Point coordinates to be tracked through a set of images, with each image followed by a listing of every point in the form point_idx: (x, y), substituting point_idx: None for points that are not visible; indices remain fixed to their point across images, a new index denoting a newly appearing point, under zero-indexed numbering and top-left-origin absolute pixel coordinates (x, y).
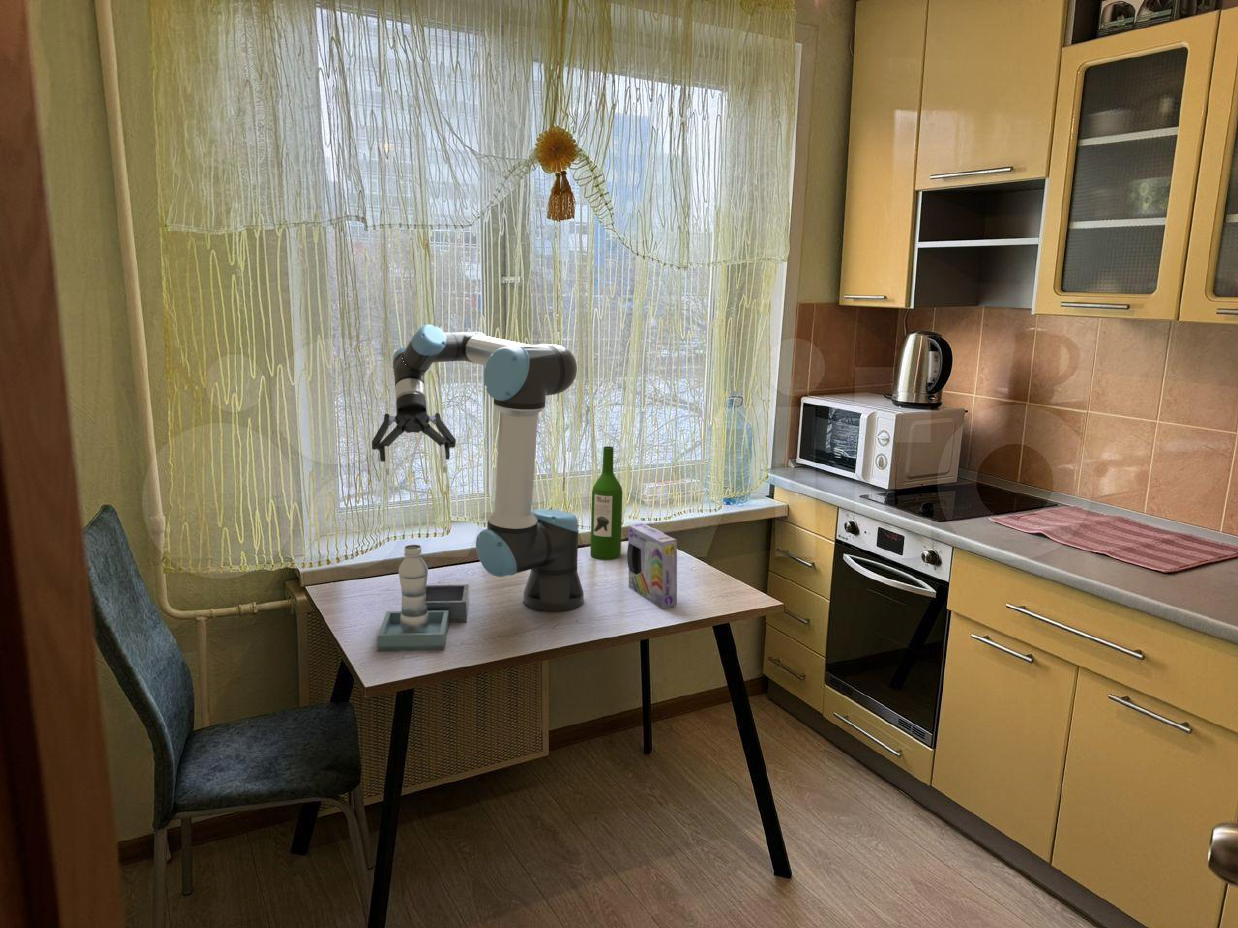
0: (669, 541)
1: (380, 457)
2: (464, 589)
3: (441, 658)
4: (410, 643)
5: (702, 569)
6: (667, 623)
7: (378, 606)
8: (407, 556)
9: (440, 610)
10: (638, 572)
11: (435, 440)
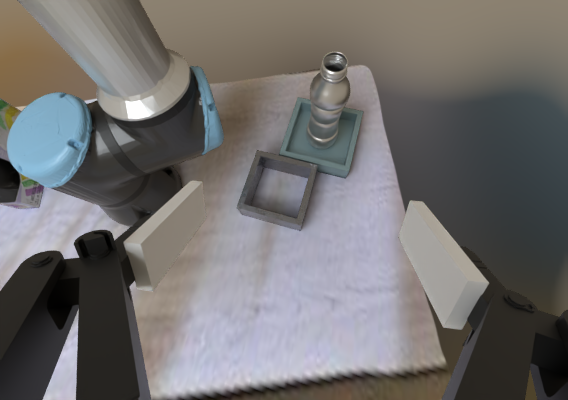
0: None
1: (471, 252)
2: (247, 191)
3: (303, 92)
4: None
5: None
6: None
7: (350, 240)
8: (342, 63)
9: (288, 156)
10: (12, 187)
11: (137, 337)
